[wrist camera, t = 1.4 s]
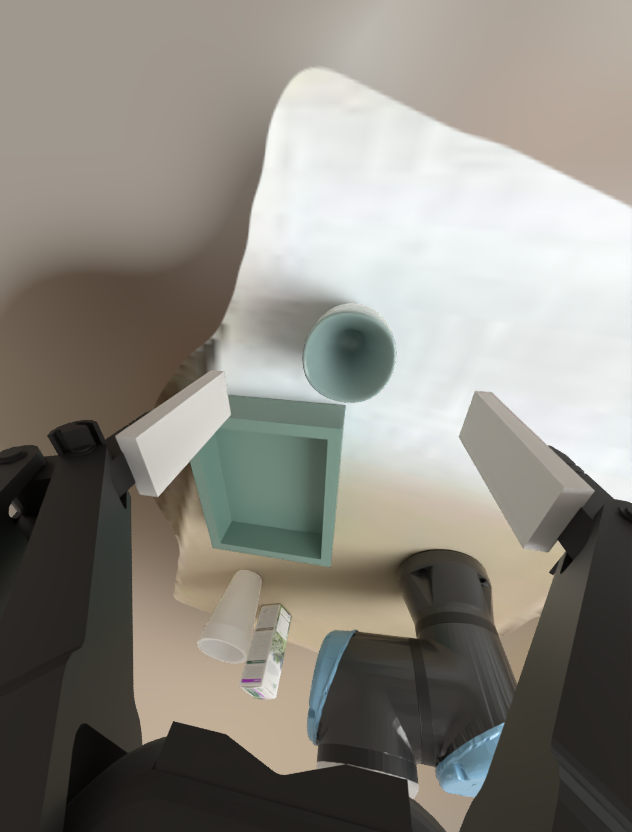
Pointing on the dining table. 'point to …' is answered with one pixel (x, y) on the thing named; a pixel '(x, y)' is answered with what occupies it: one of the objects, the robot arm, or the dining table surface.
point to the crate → (273, 479)
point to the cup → (349, 353)
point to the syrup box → (266, 653)
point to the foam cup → (233, 620)
